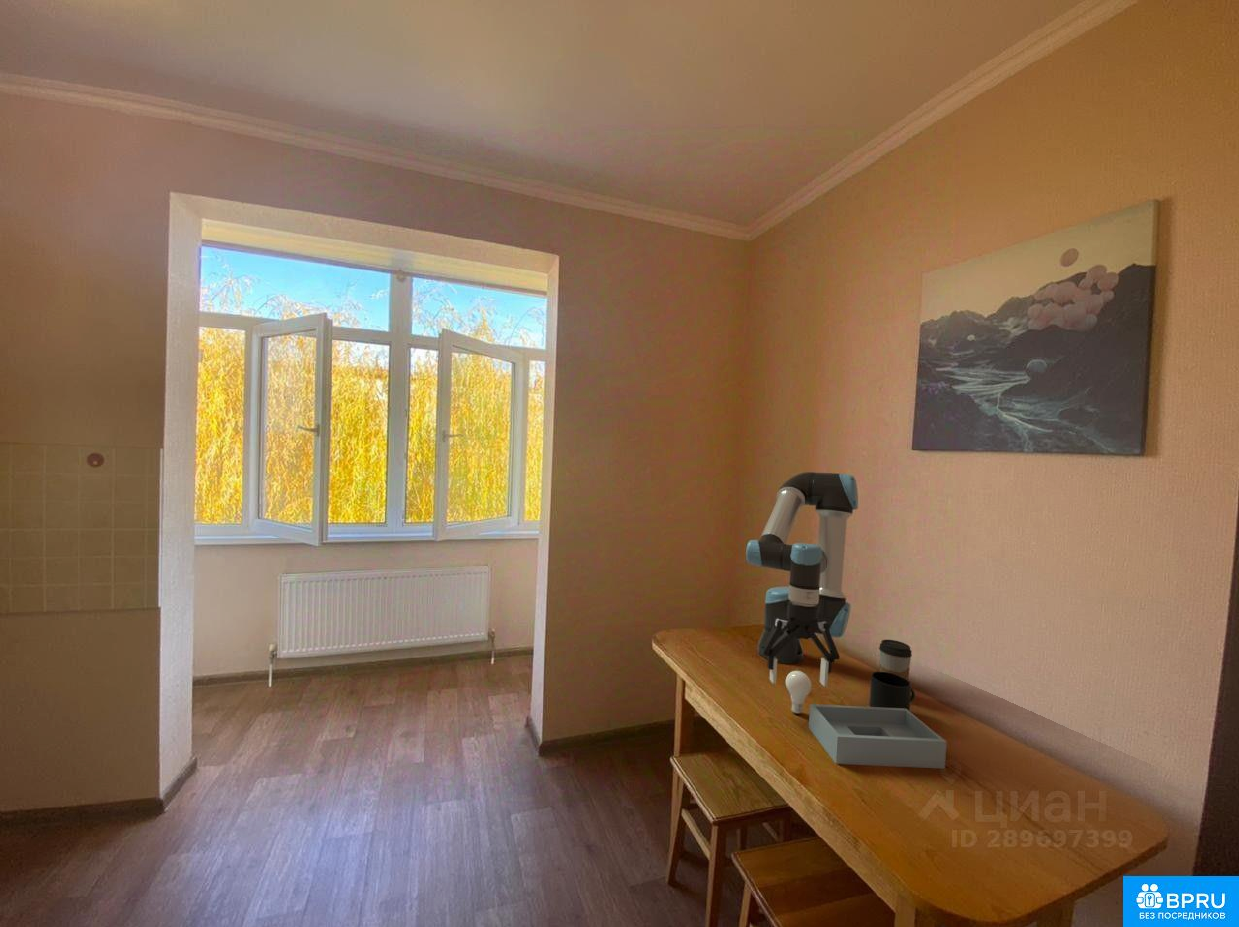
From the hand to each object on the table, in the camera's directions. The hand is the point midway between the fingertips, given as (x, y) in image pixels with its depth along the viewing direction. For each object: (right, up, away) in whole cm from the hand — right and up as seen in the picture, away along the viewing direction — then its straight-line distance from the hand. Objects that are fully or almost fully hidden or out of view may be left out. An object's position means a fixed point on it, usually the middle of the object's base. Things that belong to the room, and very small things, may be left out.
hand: (797, 683), depth 124 cm
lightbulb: (0, -8, 0) cm, 8 cm away
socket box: (+13, -9, -13) cm, 20 cm away
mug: (+28, -10, +4) cm, 30 cm away
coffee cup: (+33, -10, +14) cm, 38 cm away
